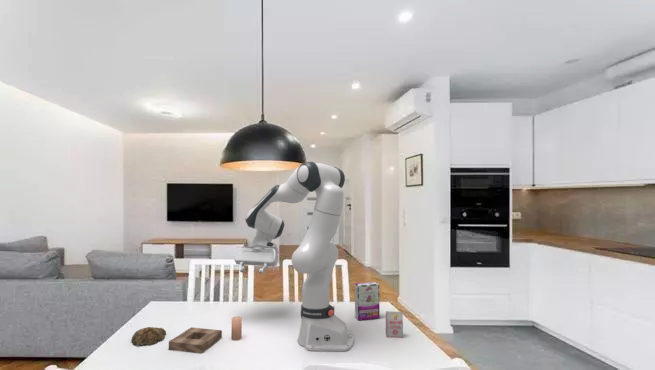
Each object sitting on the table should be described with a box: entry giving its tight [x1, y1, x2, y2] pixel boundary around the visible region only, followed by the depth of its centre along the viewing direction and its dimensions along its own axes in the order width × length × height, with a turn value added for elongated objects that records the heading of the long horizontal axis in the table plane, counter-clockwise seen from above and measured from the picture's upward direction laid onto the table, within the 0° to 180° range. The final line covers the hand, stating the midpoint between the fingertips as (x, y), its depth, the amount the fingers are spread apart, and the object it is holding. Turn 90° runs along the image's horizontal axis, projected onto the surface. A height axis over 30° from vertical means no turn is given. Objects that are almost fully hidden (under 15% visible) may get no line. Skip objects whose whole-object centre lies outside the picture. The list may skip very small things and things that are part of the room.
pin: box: [230, 316, 243, 341], centre depth 136 cm, size 4×4×8 cm
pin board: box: [168, 326, 223, 354], centre depth 131 cm, size 14×14×3 cm
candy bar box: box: [354, 281, 381, 322], centre depth 161 cm, size 11×5×16 cm, turn 106°
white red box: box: [385, 310, 404, 339], centre depth 140 cm, size 4×7×10 cm, turn 86°
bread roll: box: [131, 326, 167, 347], centre depth 135 cm, size 13×12×5 cm
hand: (251, 272), depth 150 cm, fingers open, 8 cm apart
